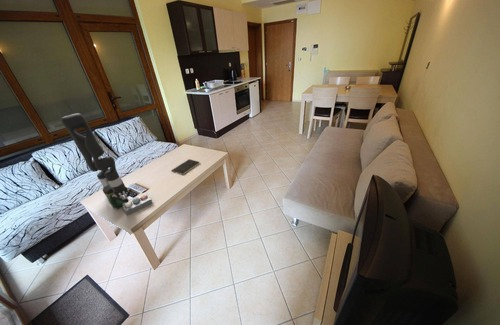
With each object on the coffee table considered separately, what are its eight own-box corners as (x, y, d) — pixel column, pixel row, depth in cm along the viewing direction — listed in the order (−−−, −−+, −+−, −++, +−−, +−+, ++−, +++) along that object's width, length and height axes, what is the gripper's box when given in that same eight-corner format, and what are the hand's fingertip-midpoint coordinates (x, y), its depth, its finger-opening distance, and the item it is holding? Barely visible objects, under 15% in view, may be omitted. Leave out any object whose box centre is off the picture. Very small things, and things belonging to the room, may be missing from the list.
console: (124, 207, 147) (122, 203, 145) (148, 196, 157) (146, 192, 155) (127, 215, 139) (125, 211, 137) (152, 203, 148) (150, 199, 146)
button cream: (126, 208, 145) (124, 204, 143) (132, 205, 147) (130, 201, 145) (128, 210, 142) (125, 206, 140) (133, 207, 144) (131, 203, 142)
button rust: (142, 200, 150) (140, 196, 148) (147, 198, 153) (145, 194, 151) (143, 203, 148) (141, 199, 146) (148, 200, 150) (146, 196, 148)
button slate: (133, 203, 147) (131, 199, 145) (139, 200, 149) (137, 196, 147) (135, 205, 144) (132, 201, 142) (140, 202, 146) (138, 198, 144)
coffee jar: (127, 204, 151) (117, 185, 141) (117, 210, 145) (106, 191, 136) (121, 200, 155) (110, 182, 146) (111, 207, 149) (99, 188, 140)
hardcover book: (200, 163, 196) (199, 161, 195) (182, 175, 180) (182, 173, 179) (189, 160, 204) (188, 159, 203) (171, 172, 188) (171, 170, 186)
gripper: (125, 177, 139) (135, 195, 148) (104, 185, 132) (116, 204, 141) (128, 181, 134) (137, 200, 143) (106, 190, 127) (118, 209, 136)
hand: (127, 202), depth 142 cm, fingers closed
